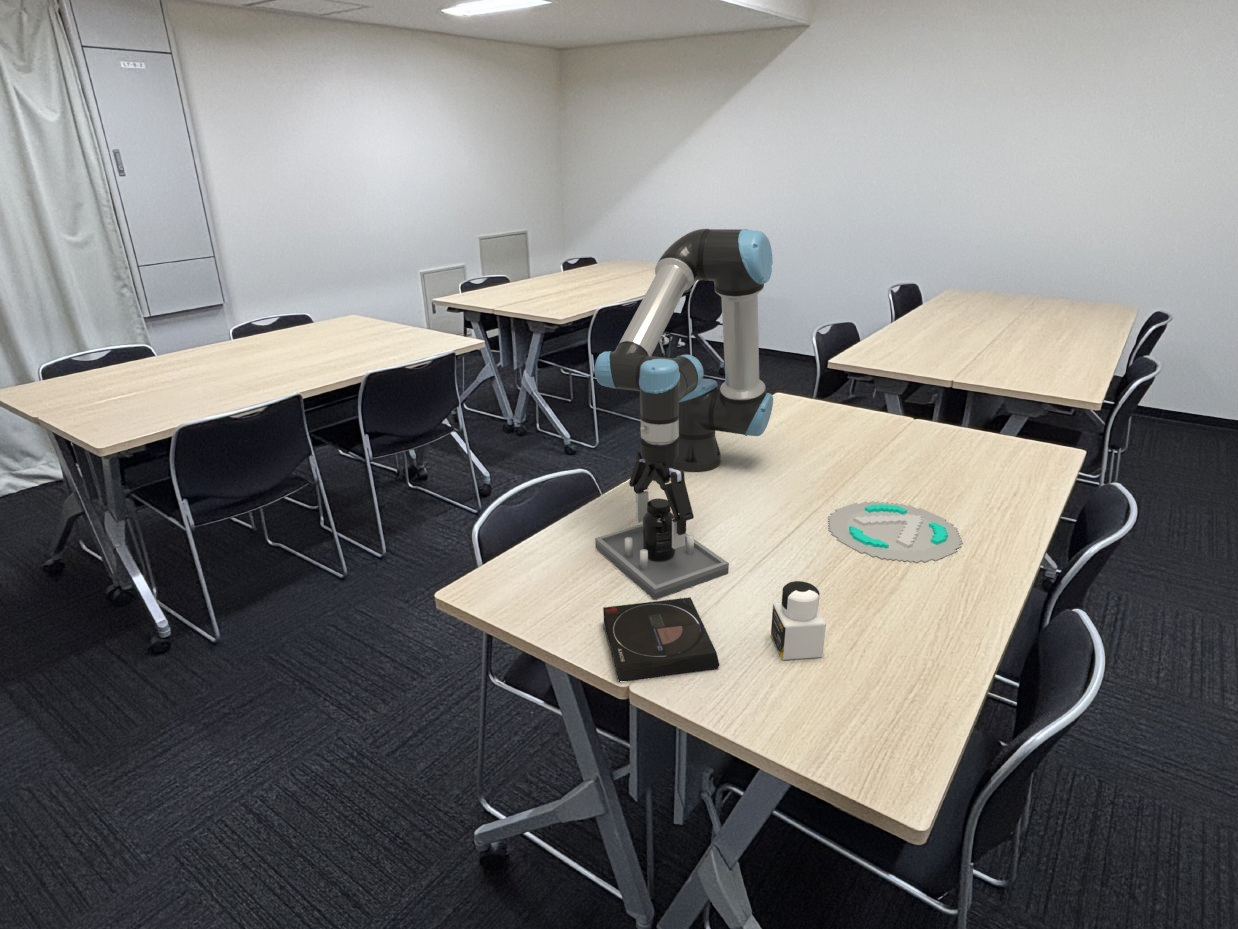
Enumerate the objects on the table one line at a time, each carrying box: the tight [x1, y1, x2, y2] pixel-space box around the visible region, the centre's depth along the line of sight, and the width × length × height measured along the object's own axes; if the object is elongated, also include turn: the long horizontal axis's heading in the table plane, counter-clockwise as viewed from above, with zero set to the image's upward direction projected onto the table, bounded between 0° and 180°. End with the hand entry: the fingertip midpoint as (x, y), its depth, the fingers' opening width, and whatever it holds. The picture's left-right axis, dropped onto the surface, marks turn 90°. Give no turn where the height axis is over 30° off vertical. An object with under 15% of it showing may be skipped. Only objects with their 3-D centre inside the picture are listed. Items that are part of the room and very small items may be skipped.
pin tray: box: [594, 523, 730, 601], centre depth 150 cm, size 24×18×6 cm
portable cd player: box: [602, 596, 721, 683], centre depth 124 cm, size 16×17×4 cm
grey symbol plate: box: [827, 500, 964, 564], centre depth 161 cm, size 28×28×2 cm
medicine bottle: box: [770, 580, 827, 661], centre depth 121 cm, size 7×7×12 cm
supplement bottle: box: [642, 498, 675, 561], centre depth 148 cm, size 7×7×12 cm
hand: (659, 532), depth 149 cm, fingers open, 13 cm apart
